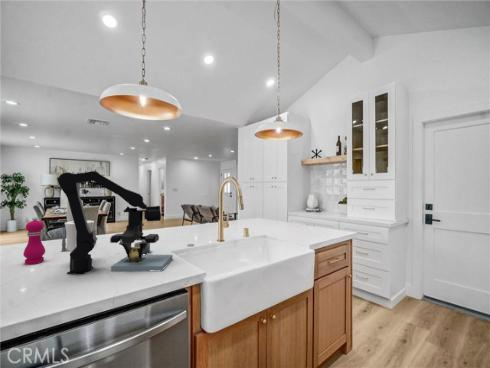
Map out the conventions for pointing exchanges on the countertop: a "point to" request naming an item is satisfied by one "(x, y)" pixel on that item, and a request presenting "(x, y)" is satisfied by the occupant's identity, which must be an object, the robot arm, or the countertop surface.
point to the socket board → (143, 263)
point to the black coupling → (145, 248)
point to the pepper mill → (34, 243)
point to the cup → (74, 233)
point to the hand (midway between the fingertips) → (134, 258)
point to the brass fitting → (134, 255)
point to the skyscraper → (69, 219)
